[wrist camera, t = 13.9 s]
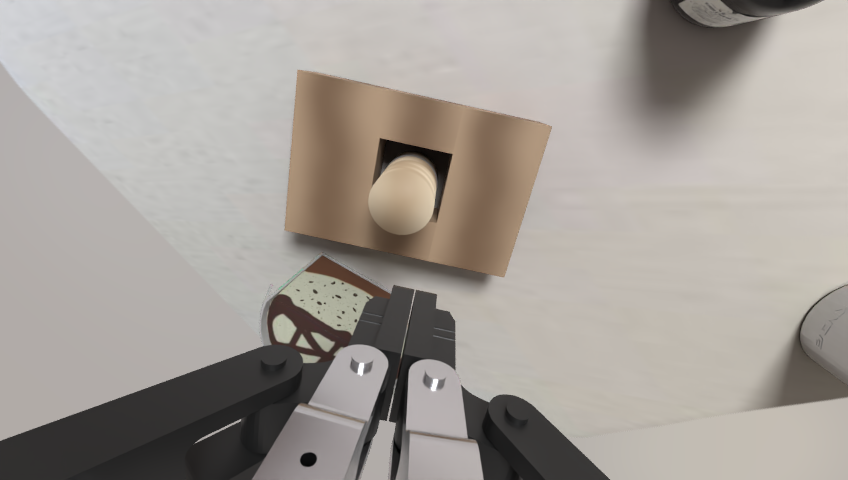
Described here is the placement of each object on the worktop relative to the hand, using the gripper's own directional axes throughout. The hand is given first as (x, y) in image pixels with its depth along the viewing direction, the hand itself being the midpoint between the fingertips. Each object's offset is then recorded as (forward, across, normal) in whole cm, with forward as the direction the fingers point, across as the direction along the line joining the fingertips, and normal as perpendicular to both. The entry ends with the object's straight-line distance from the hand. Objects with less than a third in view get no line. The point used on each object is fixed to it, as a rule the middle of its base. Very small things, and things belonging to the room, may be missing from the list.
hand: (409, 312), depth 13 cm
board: (+21, +2, 0) cm, 21 cm away
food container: (+21, +6, +13) cm, 26 cm away
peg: (+21, +2, 0) cm, 21 cm away
